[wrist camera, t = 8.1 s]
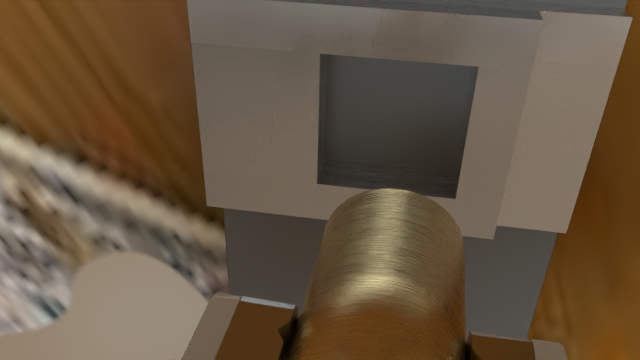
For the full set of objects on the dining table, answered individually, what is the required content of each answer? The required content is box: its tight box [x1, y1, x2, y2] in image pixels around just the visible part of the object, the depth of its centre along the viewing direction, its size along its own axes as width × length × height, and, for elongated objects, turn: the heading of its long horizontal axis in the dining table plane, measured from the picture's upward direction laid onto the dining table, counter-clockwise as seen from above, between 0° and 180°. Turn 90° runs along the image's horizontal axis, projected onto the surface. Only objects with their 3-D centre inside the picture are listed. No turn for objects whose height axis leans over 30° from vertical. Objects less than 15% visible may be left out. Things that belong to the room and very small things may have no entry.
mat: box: [223, 0, 627, 342], centre depth 22 cm, size 20×12×2 cm, turn 179°
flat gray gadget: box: [187, 0, 633, 240], centre depth 19 cm, size 7×12×2 cm, turn 89°
